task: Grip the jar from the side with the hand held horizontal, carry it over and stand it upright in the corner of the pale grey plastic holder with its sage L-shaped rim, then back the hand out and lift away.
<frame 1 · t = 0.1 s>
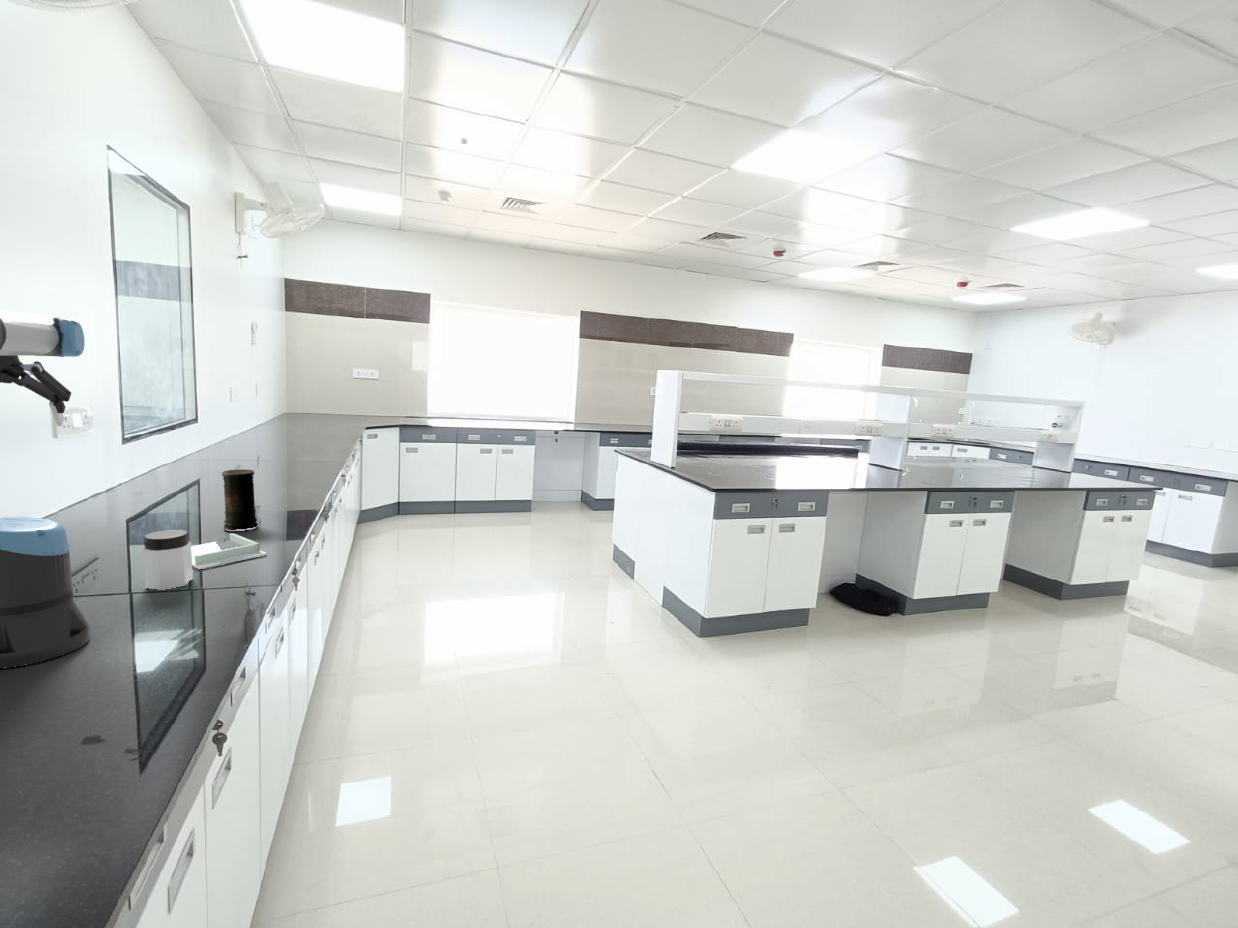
hand: (21, 422, 135), 36 cm above the countertop, tool tilted 35°, fingers open, 13 cm apart
container: (241, 529, 184), on the countertop
holder: (216, 554, 159), on the countertop
jar: (170, 585, 137), on the countertop
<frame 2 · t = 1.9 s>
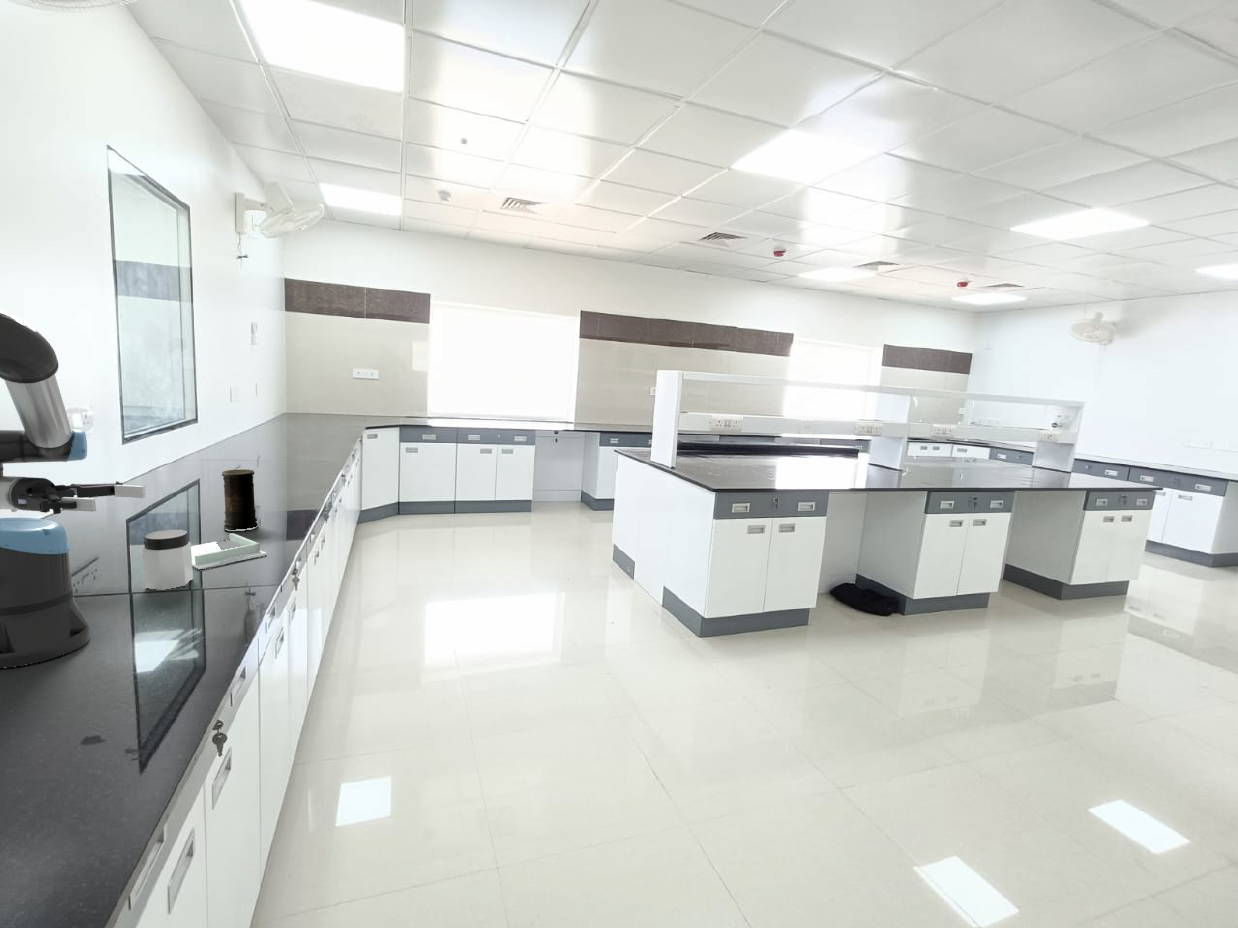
hand: (120, 498, 134), 20 cm above the countertop, tool horizontal, fingers open, 13 cm apart
nothing on the countertop moved.
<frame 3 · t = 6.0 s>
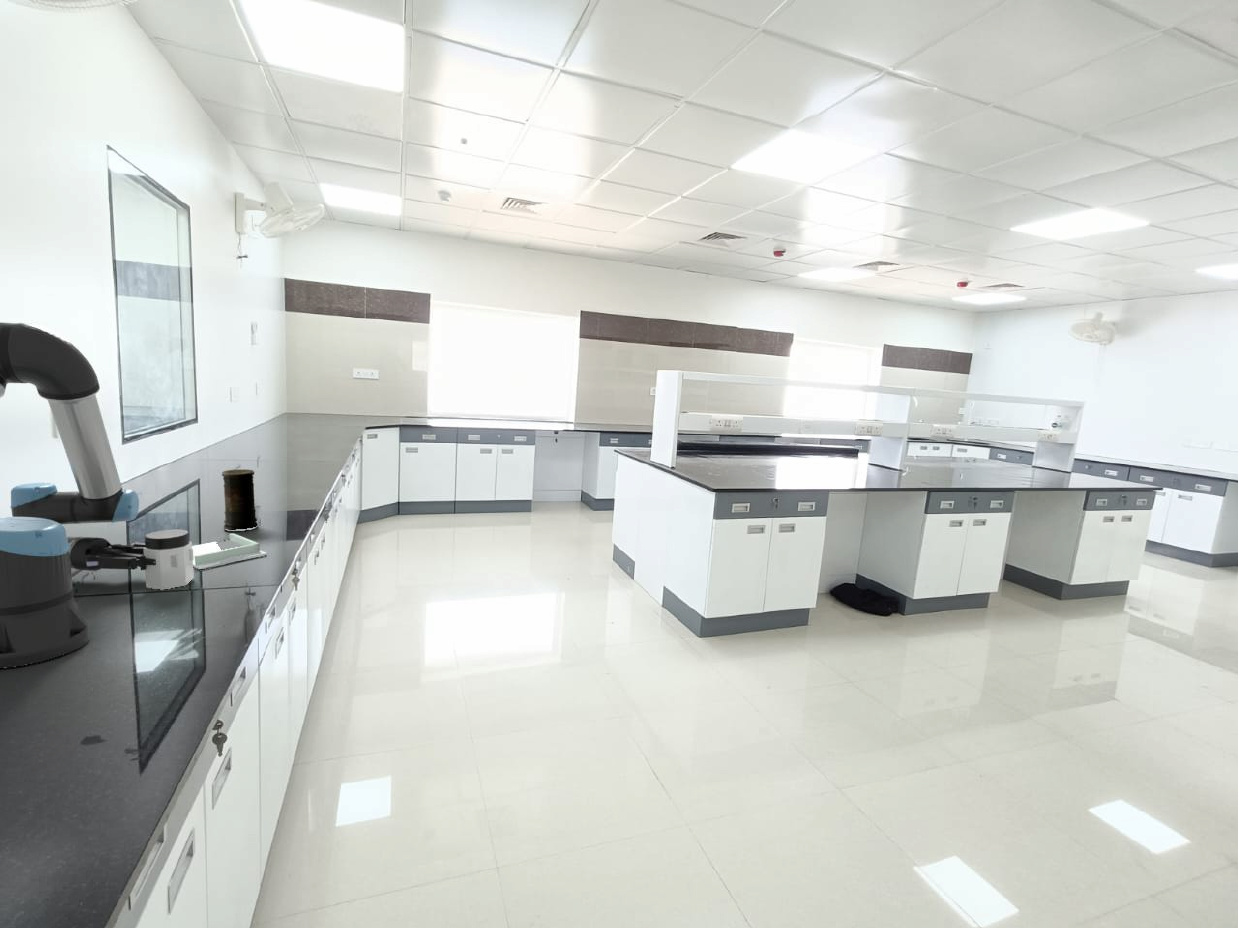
hand: (185, 557, 136), 7 cm above the countertop, tool horizontal, fingers open, 4 cm apart
jar: (170, 584, 138), on the countertop, touching gripper
everything else where it was.
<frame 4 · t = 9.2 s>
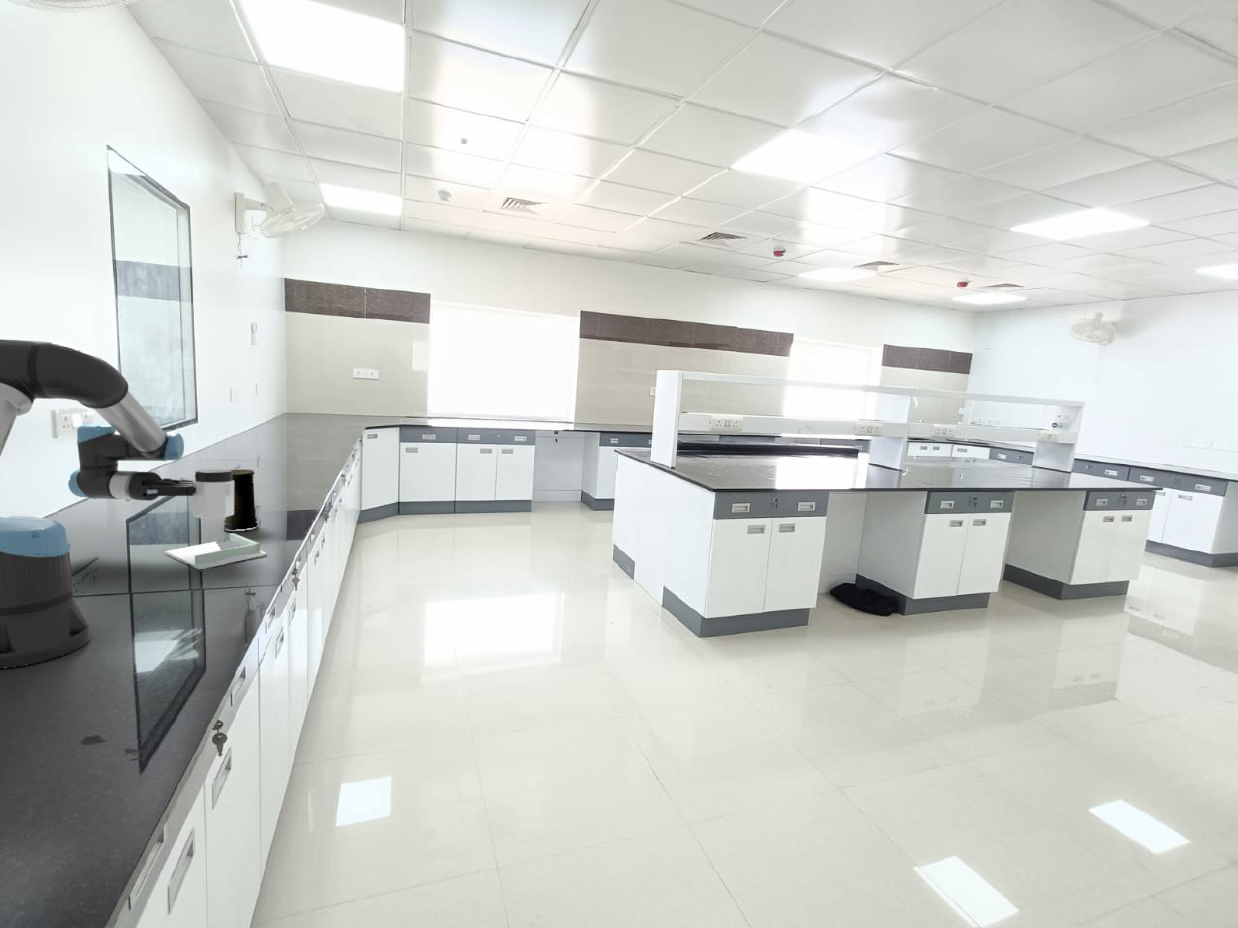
hand: (228, 489, 156), 18 cm above the countertop, tool horizontal, fingers closed
jar: (213, 516, 157), point 10 cm above the countertop, touching gripper
everything else where it was.
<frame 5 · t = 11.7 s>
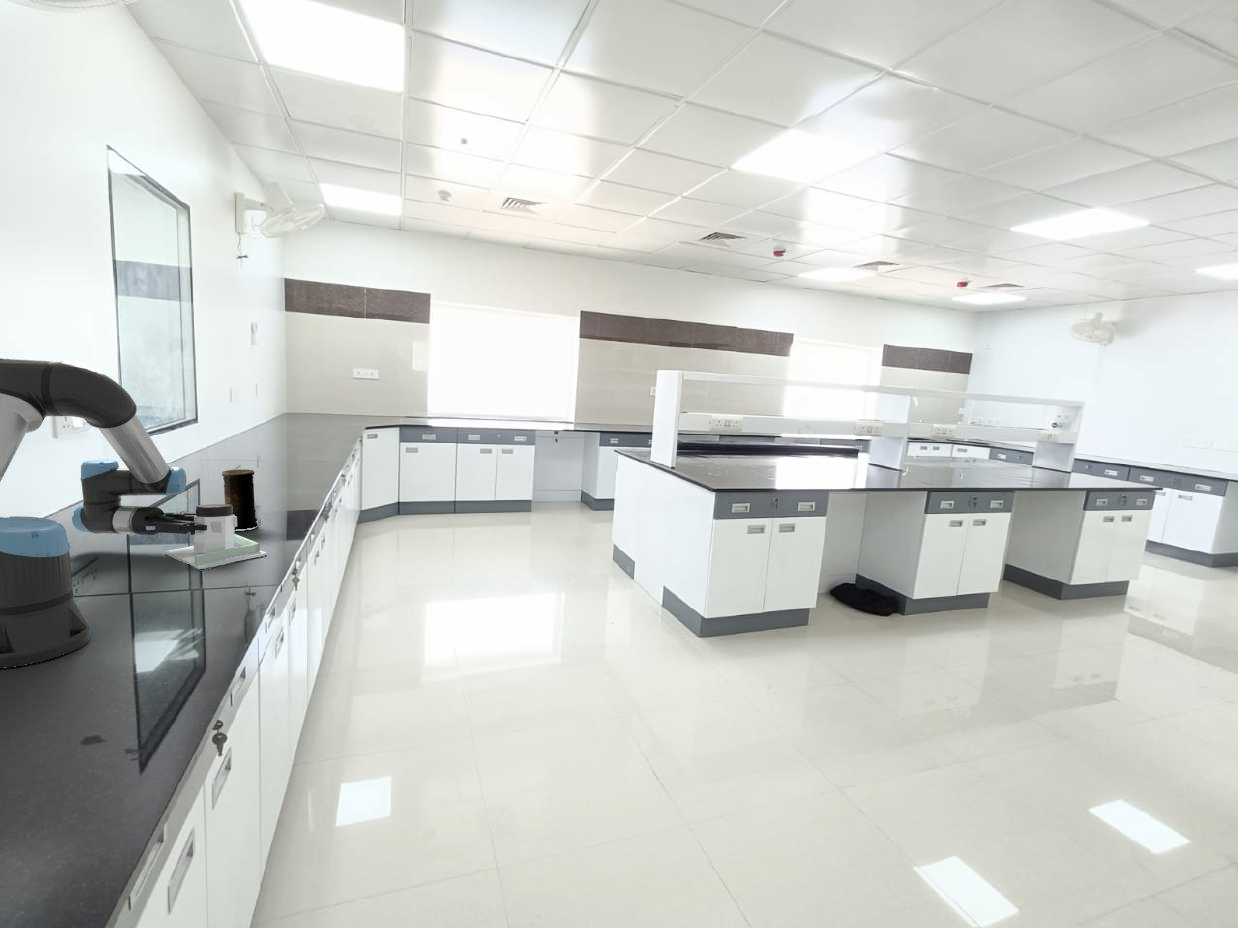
hand: (229, 524, 157), 9 cm above the countertop, tool horizontal, fingers open, 5 cm apart
jar: (214, 551, 158), point 1 cm above the countertop, touching holder
everything else where it was.
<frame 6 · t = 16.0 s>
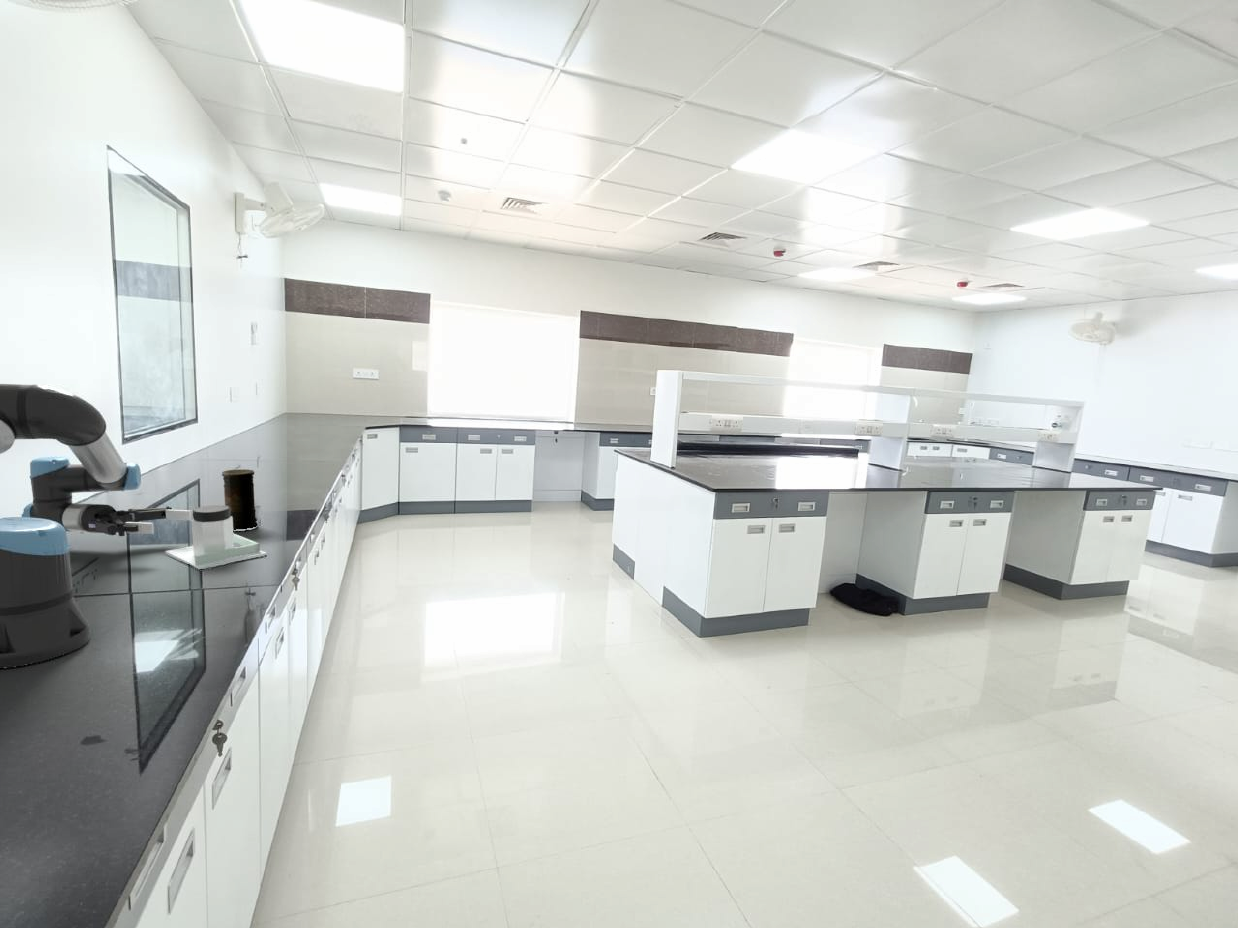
hand: (172, 521, 157), 9 cm above the countertop, tool horizontal, fingers open, 13 cm apart
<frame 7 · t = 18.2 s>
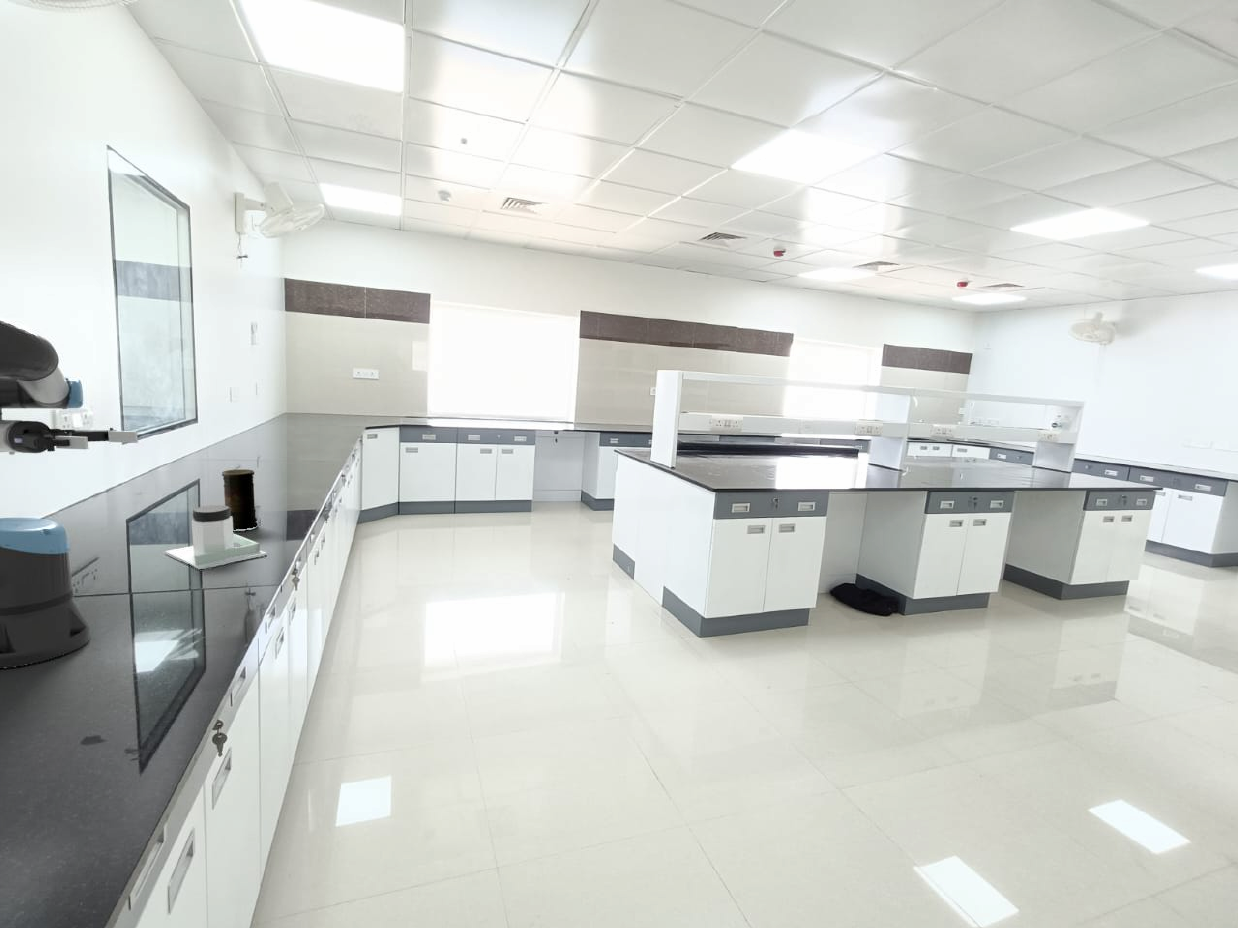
hand: (112, 440, 139), 32 cm above the countertop, tool horizontal, fingers open, 13 cm apart
nothing on the countertop moved.
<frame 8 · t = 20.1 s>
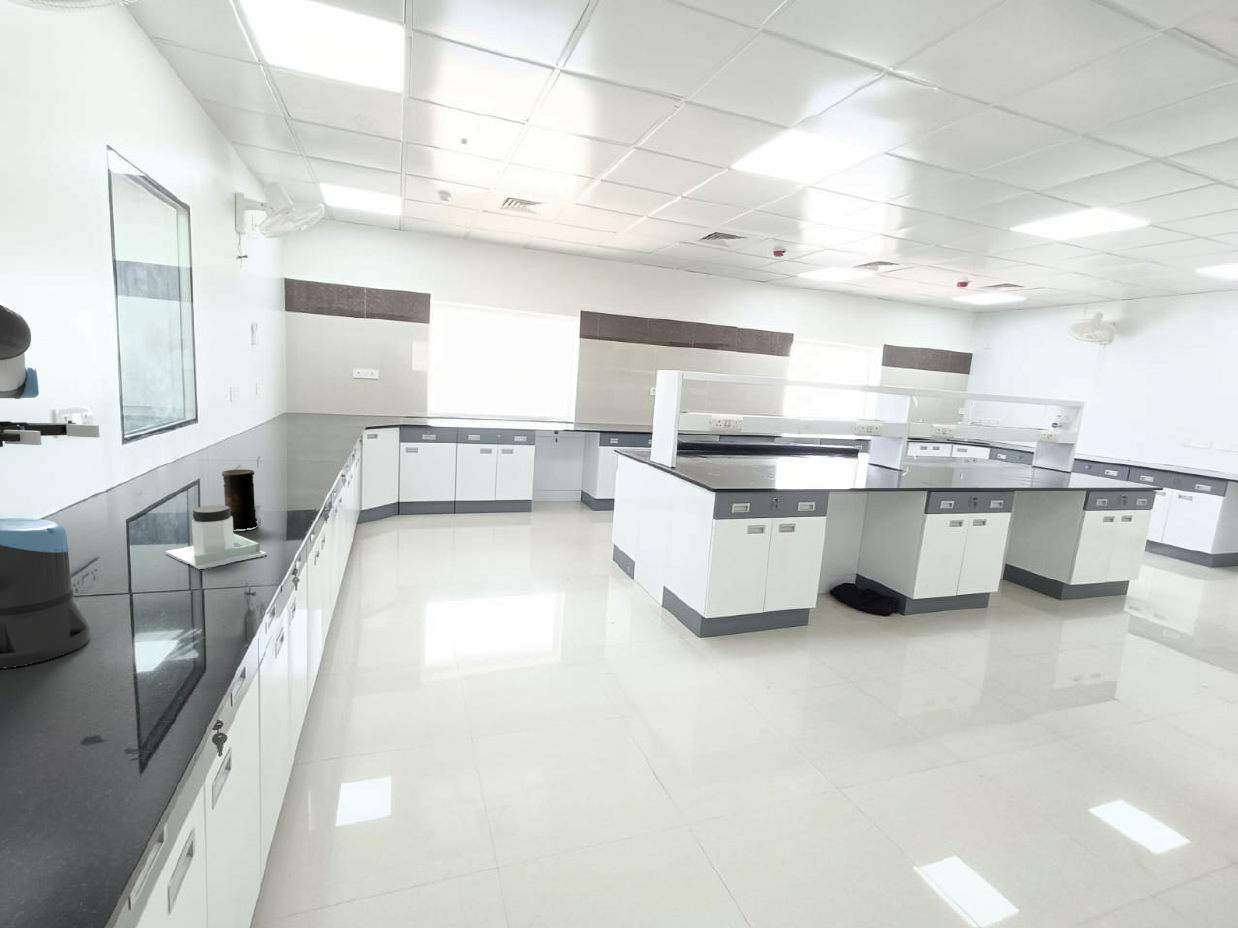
hand: (70, 434, 125), 35 cm above the countertop, tool horizontal, fingers open, 13 cm apart
nothing on the countertop moved.
at the end: jar inside the target area on the holder (0.6 cm from its centre), point 0.6 cm above the holder's base; jar tilted 0°; the gripper is holding nothing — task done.
